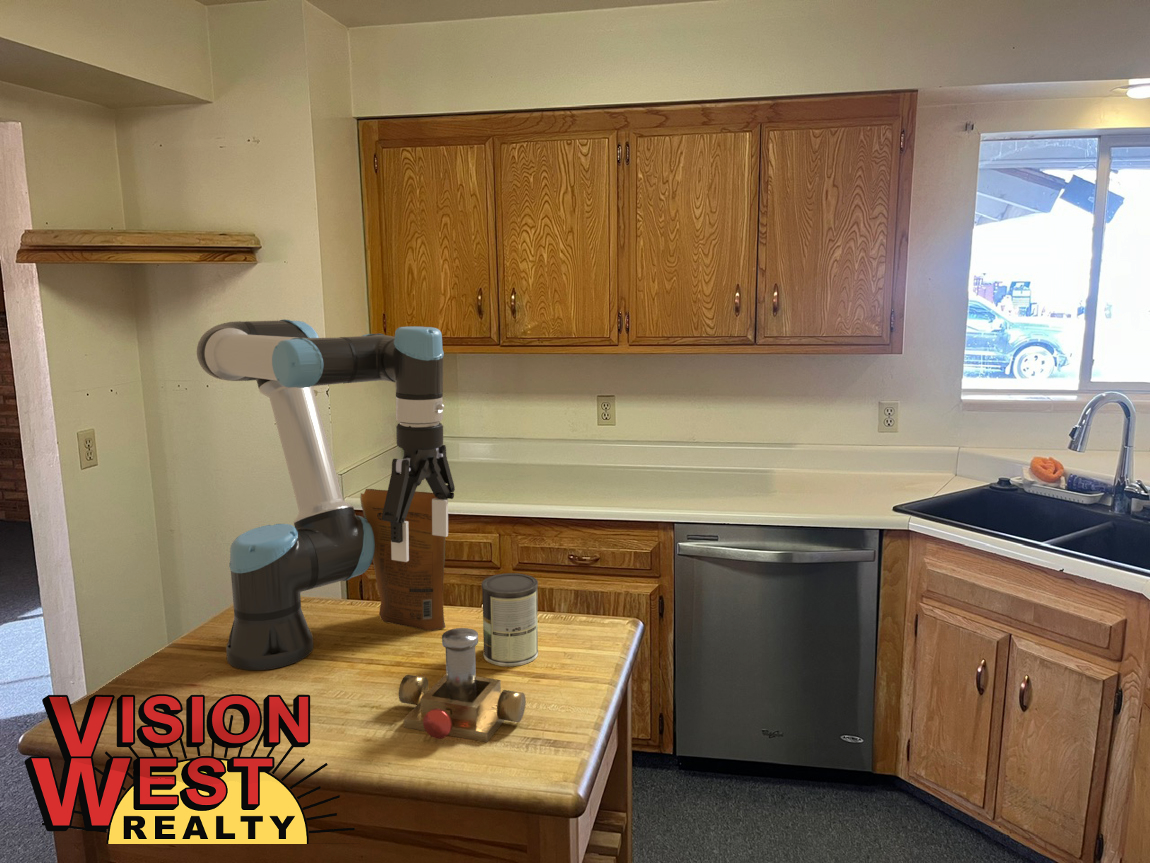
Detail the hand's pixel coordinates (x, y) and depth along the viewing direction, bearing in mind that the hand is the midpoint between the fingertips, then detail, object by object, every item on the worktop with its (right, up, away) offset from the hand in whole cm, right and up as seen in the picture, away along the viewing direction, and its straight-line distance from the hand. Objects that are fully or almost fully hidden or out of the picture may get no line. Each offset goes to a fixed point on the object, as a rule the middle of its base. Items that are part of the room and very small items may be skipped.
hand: (421, 547), depth 136 cm
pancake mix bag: (-8, -20, +29) cm, 36 cm away
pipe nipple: (+8, -24, -7) cm, 26 cm away
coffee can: (+14, -22, +15) cm, 30 cm away
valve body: (+7, -26, -8) cm, 28 cm away
